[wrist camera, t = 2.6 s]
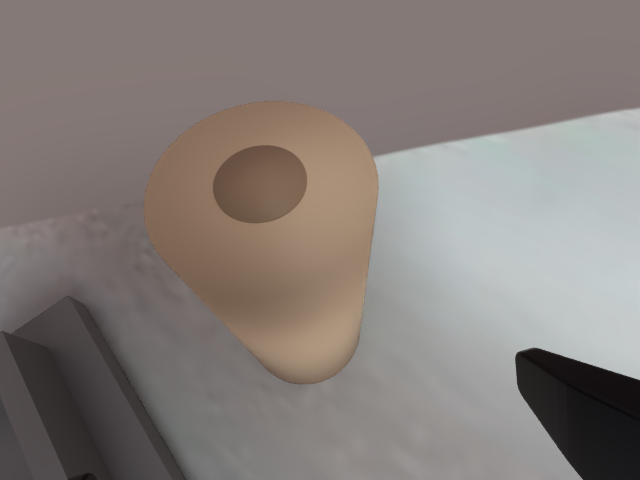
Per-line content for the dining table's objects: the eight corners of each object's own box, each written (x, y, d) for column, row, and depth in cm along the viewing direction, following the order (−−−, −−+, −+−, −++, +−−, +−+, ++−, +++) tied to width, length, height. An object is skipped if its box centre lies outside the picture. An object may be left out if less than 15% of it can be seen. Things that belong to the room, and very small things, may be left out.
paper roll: (338, 402, 19) (329, 330, 8) (232, 359, 21) (92, 245, 9) (373, 295, 22) (406, 124, 10) (278, 264, 23) (213, 81, 12)
